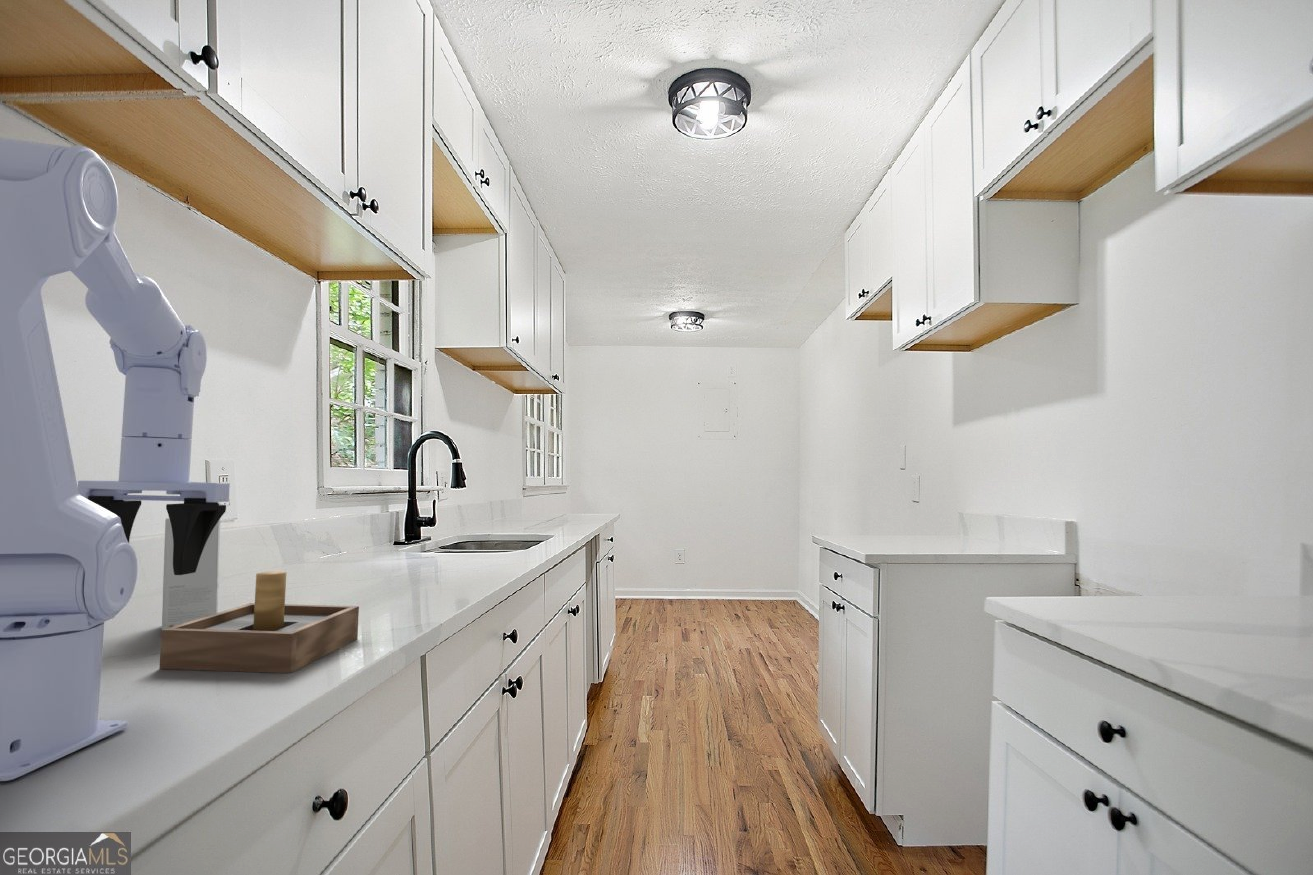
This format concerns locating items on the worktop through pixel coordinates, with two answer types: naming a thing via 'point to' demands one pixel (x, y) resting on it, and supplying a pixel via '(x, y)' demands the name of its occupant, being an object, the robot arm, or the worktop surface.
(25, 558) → the robot arm
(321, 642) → the tray
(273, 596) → the peg
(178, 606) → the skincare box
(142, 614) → the worktop surface
